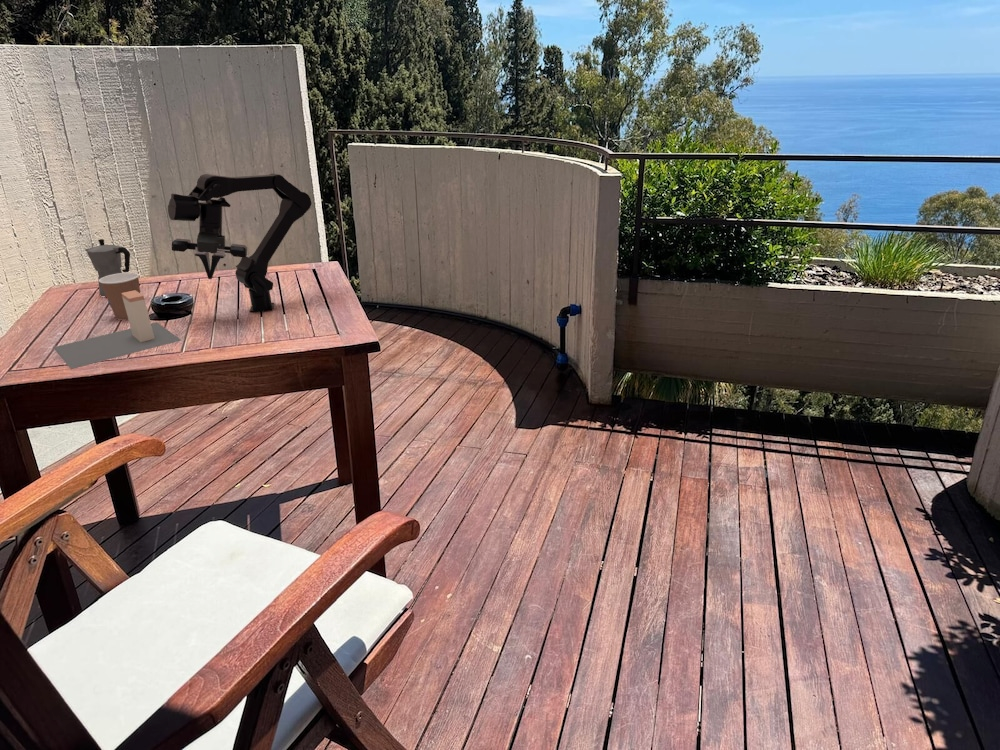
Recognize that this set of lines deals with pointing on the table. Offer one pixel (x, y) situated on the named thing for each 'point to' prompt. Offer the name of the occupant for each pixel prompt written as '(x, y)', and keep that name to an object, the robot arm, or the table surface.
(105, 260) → the coffeepot
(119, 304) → the coffee cup
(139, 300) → the tan bar
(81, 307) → the table surface
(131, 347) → the mat
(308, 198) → the robot arm
